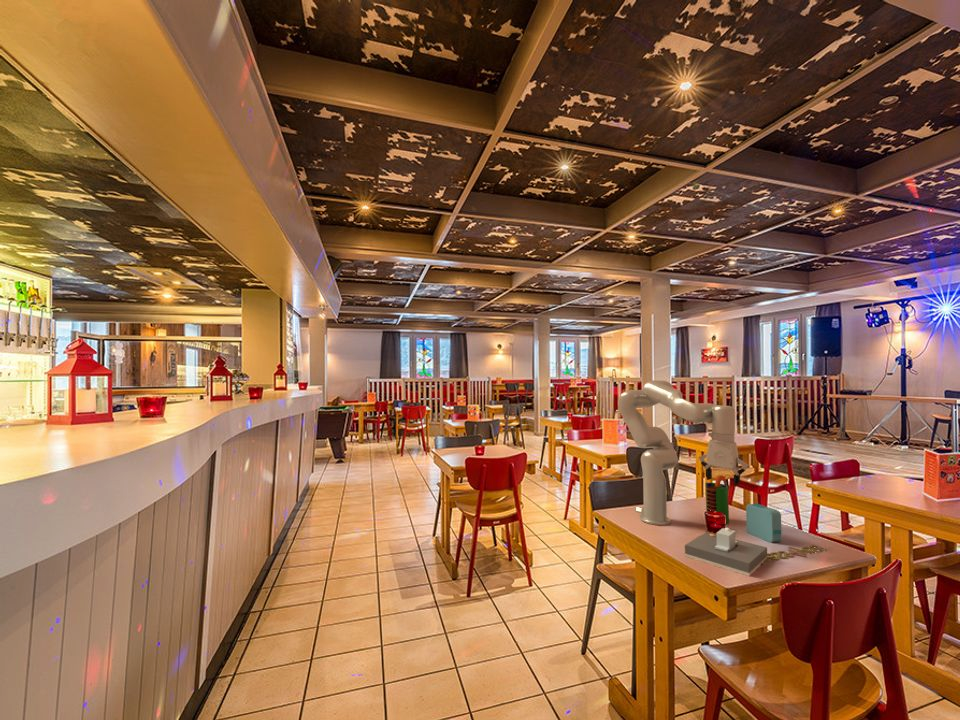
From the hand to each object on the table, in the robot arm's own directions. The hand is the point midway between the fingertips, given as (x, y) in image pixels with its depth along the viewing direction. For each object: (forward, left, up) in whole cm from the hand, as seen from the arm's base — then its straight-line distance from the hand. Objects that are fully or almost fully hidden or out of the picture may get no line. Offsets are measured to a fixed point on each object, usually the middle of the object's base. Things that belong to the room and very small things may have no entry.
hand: (722, 482), depth 163 cm
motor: (-12, +29, -24) cm, 39 cm away
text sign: (+18, +6, -24) cm, 31 cm away
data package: (+8, +21, -24) cm, 33 cm away
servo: (+5, -12, -23) cm, 26 cm away
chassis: (+5, -12, -24) cm, 27 cm away
